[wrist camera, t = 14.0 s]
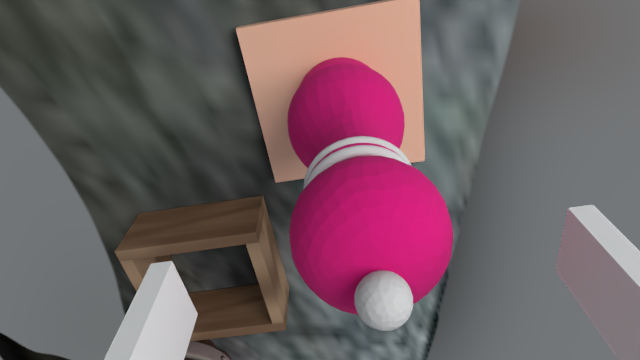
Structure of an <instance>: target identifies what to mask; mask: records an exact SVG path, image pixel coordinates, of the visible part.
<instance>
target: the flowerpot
mask: <svg viewBox="0 0 640 360" xmlns="http://www.w3.org/2000/svg"><path fill="white" fill-rule="evenodd" d="M184 360H231V359H230V356H229V355H228V354H227V353H226V352H224V351H219V350H218V349H216V348H215V345H214V343H213V342H211V341H209V340H200V341H190V342H189V345H188V348H187V352H186V355H185V358H184Z"/></svg>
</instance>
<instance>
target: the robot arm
mask: <svg viewBox="0 0 640 360" xmlns="http://www.w3.org/2000/svg"><path fill="white" fill-rule="evenodd" d="M556 272H557V273H558V275H559V276H560V277H561V279H562V280H563V282H564V283H565V284H566V286H567V288H568V289H569V290H570V292H571V293H572V294H573V296H574V297H575V299H576V300H577V302H578V303H579V305H580V306H581V307H582V309H583V310H584V312H585V313H586V314H587V316H588V317H589V319H590V320H591V322H592V323H593V324H594V326H595V327H596V328H597V330H598V332H599V333H600V334H601V336H602V337H603V339H604V340H605V341H606V343H607V344H608V346H609V347H610V348H611V350H612V351H613V353H614V354H615V356H616V357H617V359H618V360H640V251H639V250H638V249H637V248H636V247H635V246H634V245H633V244H632V243H631V242H630V241H629V240H628V239H627V238H626V237H625V236H624V235H623V234H622V233H621V232H620V231H619V230H618V229H617V228H616V227H615V226H614V225H613V224H612V223H611V222H610V221H609V220H608V219H607V218H606V217H605V216H604V215H603V214H602V213H601V212H600V211H599V210H598V209H597V208H596V207H595V206H594V205H587V206H580V207H573V208H568V211H567V215H566V220H565V225H564V231H563V235H562V241H561V245H560V250H559V256H558V260H557V266H556ZM197 315H198V313H197V311H196V309H195V307H194V305H193V303H192V301H191V299H190V297H189V295H188V293H187V291H186V288H185V286H184V284H183V282H182V280H181V278H180V276H179V274H178V272H177V270H176V268H175V266H174V264H173V262H172V261H167V262H160V263H152V264H150V266H149V268H148V270H147V272H146V274H145V276H144V279H143V281H142V283H141V285H140V287H139V289H138V291H137V293H136V295H135V297H134V299H133V301H132V303H131V305H130V307H129V309H128V311H127V313H126V315H125V317H124V319H123V322H122V324H121V326H120V328H119V330H118V332H117V334H116V336H115V338H114V340H113V342H112V344H111V346H110V348H109V350H108V352H107V354H106V356H105V358H104V360H184V358H185V355H186V352H187V348H188V345H189V342H190V338H191V335H192V332H193V329H194V325H195V322H196V319H197Z"/></svg>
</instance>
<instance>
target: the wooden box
mask: <svg viewBox="0 0 640 360" xmlns="http://www.w3.org/2000/svg"><path fill="white" fill-rule="evenodd" d="M245 244H246V247H247V250H248V252H249V255H250V258H251V261H252V264H253V267H254V270H255V273H256V276H257V279H258V282H259V284H255V285H248V286H240V287H232V288H225V289H217V290H209V291H201V292H194V293H188V292H187V293H188V295H189V297H190V299H191V301H192V303H193V305H194V307H195V309H196V311H197V313H198V315H197V319H196V322H195V325H194V329H193V332H192V335H191V338H190V341H199V340H207V339H215V338H223V337H232V336H240V335H248V334H256V333H265V332H273V331H281V330H286V323H287V309H288V295H289V286H288V282H287V279H286V275H285V272H284V268H283V265H282V261H281V258H280V254H279V250H278V247H277V243H276V240H275V236H274V233H273V229H272V226H271V222H270V219H269V215H268V212H267V208H266V205H265V201H264V198H263V195H262V196H255V197H248V198H241V199H235V200H228V201H221V202H214V203H207V204H200V205H194V206H187V207H180V208H173V209H166V210H159V211H153V212H146V213H139V214H138V216H137V217H136V219H135V220H134V222H133V224H132V225H131V227H130V228H129V230H128V231H127V233H126V234H125V236H124V238H123V239H122V241H121V242H120V244H119V245H118V247H117V249H116V250H115V254H116V256H117V258H118V259H119V261H120V263H121V265H122V267H123V268H124V270H125V272H126V274H127V276H128V277H129V279H130V281H131V283H132V284H133V286H134V288H135V290H136V292H137V291H138V289H139V287H140V285H141V283H142V281H143V279H144V276H145V274H146V272H147V270H148V268H149V266H150V264H152V263H160V262H167V261H172V262H173V260H172V258H171V256H170V255H172V254H179V253H187V252H194V251H201V250H208V249H216V248H223V247H230V246H238V245H245ZM173 264H174V262H173ZM174 266H175V264H174ZM175 268H176V267H175ZM176 270H177V269H176ZM177 272H178V271H177ZM178 274H179V273H178ZM179 276H180V275H179ZM180 278H181V277H180ZM181 280H182V279H181ZM182 282H183V281H182ZM186 291H187V290H186Z"/></svg>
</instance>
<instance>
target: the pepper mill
mask: <svg viewBox="0 0 640 360" xmlns="http://www.w3.org/2000/svg"><path fill="white" fill-rule="evenodd" d="M287 124H288V135H289V138H290V142H291V145H292V147H293V149H294V151H295V153H296V155H297V156H298V158H299V159H300V160H301V162H302V163H303V164H304V165H305V166H306V167H307V168H308V170H307V172H306V175H305V179H304V190H303V191H302V193H301V194H300V195H299V197H298V199H297V202H296V205H295V207H294V210H293V213H292V216H291V223H290V231H289V233H290V244H291V251H292V258H293V260H294V263H295V265H296V268H297V270H298V272H299V273H300V275H301V277H302V279H303V280H304V282H305V283H306V284H307V285H308V287H309V288H310V289H311V290H312V291H313V292H314V293H315V294H316V295H317V296H318V297H319V298H321V299H322V300H323V301H325V302H326V303H328V304H329V305H331V306H333V307H335V308H337V309H339V310H341V311H345V312H349V313H353V314H357V315H359V316H360V318H361V319H362V320H363V321H364V322H365V323H366V324H367V325H368V326H370V327H372V328H375V329H378V330H381V331H391V330H393V329H396V328H398V327H400V326H401V325H403V324H404V323H405V322H406V321H407V319H408V318H409V316H410V314H411V312H412V308H413V304H414V303H416V302H418V301H419V300H420V299H422V298H423V297H424V296H425V295H427V294H428V293H429V292H430V291H431V290H432V289H433V288H434V286H435V285H436V284H437V283H438V282H439V280H440V279H441V277H442V276H443V274H444V272H445V271H446V268H447V266H448V263H449V260H450V258H451V251H452V241H453V230H452V222H451V219H450V216H449V213H448V210H447V207H446V204H445V201H444V199H443V198H442V196H441V195H440V193H439V191H438V190H437V188H436V187H435V186H434V184H433V183H432V182H431V181H430V180H429V179H428V178H427V177H426V176H425V175H424V174H423V173H422V172H421V171H419V170H418V169H416V168H414V167H412V165H411V163H410V161H409V160H408V158H407V157H406V155H405V154H404V153H403V152H402V151H401V150H400V146H401V144H402V140H403V135H404V127H405V123H404V112H403V108H402V105H401V102H400V99H399V96H398V94H397V93H396V91H395V89H394V87H393V86H392V85H391V83H390V82H389V81H388V80H387V79H386V78H385V77H383V76H382V75H381V74H379V73H378V72H376V71H375V70H373V69H371V68H370V67H369V66H368V65H366V64H364V63H362V62H361V61H358V60H355V59H353V58H346V57H339V58H332V59H328V60H325V61H323V62H321V63H319V64H317V65H316V66H315V67H313V68H312V69H311V70H310V71H309V72H308V73H307V74H306V75H305V77H304V78H303V80H302V82H301V84H300V86H299V88H298V89H297V91H296V92H295V94H294V96H293V98H292V100H291V103H290V106H289V110H288V120H287Z"/></svg>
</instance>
